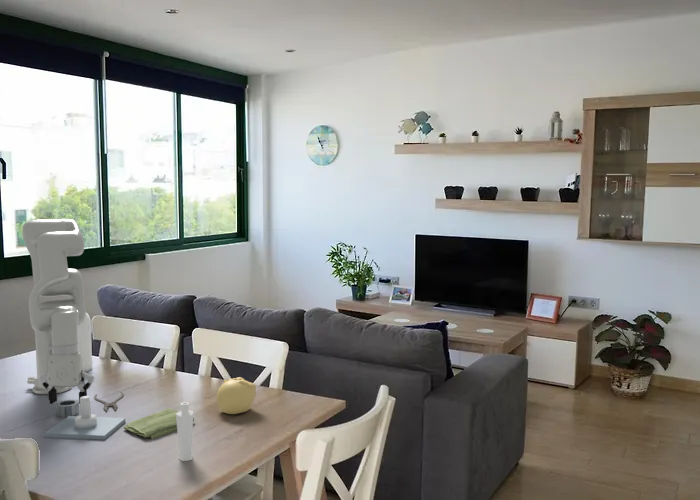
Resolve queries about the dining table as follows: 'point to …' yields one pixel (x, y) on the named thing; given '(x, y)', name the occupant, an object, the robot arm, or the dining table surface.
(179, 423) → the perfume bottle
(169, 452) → the dining table surface
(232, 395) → the pale yellow round lump
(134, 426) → the washcloth
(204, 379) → the dining table surface
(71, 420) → the piston block
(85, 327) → the bottle
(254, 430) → the dining table surface
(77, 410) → the ring
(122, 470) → the dining table surface
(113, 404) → the pliers
